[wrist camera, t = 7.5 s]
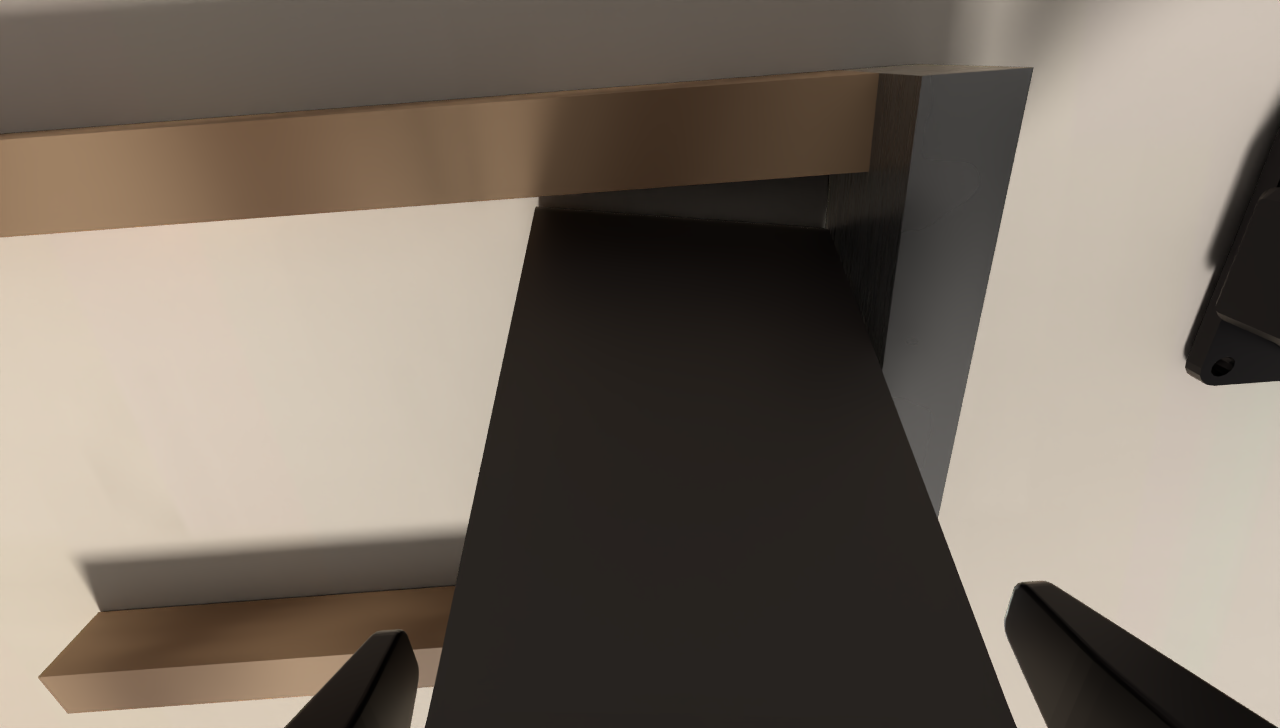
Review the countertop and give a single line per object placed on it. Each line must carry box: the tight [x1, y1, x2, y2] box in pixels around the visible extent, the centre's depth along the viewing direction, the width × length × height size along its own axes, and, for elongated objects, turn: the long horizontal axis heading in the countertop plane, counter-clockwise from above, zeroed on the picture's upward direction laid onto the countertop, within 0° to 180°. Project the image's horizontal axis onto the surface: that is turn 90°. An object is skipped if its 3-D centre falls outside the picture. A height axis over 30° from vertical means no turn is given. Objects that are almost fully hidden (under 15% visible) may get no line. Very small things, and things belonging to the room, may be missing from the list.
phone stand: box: [425, 207, 1017, 728], centre depth 9 cm, size 9×6×12 cm, turn 175°
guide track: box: [0, 70, 879, 714], centre depth 14 cm, size 21×14×2 cm, turn 94°
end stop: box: [826, 64, 1034, 518], centre depth 13 cm, size 2×14×4 cm, turn 4°
